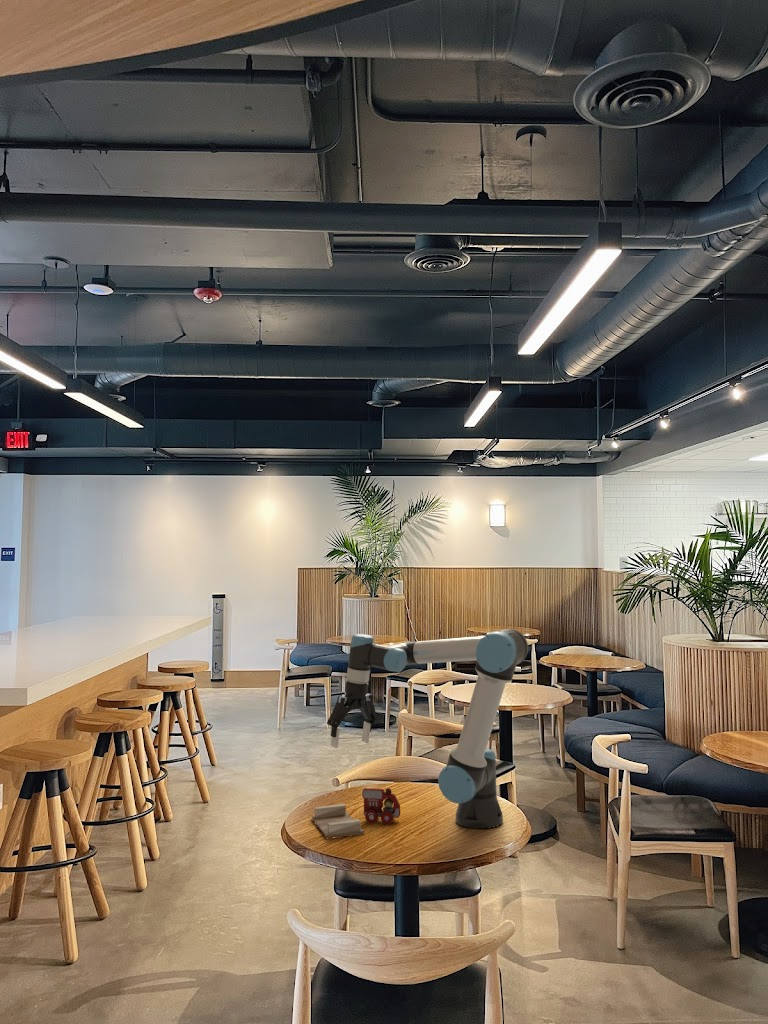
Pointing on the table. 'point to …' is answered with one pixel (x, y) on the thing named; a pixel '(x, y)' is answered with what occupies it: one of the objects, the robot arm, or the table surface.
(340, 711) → the robot arm
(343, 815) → the gray jig
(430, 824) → the table surface
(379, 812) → the toy fire truck
